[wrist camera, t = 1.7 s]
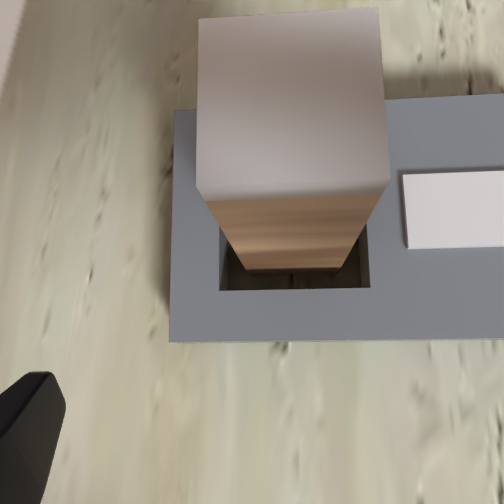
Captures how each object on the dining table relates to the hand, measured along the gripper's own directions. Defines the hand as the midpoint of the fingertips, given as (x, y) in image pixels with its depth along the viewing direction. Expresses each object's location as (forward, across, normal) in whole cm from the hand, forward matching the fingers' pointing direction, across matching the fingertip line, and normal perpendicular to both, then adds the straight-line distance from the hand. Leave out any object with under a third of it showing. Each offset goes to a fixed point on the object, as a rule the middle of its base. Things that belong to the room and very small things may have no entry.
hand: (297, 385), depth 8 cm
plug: (+13, 0, +5) cm, 14 cm away
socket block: (+13, -3, +5) cm, 14 cm away
